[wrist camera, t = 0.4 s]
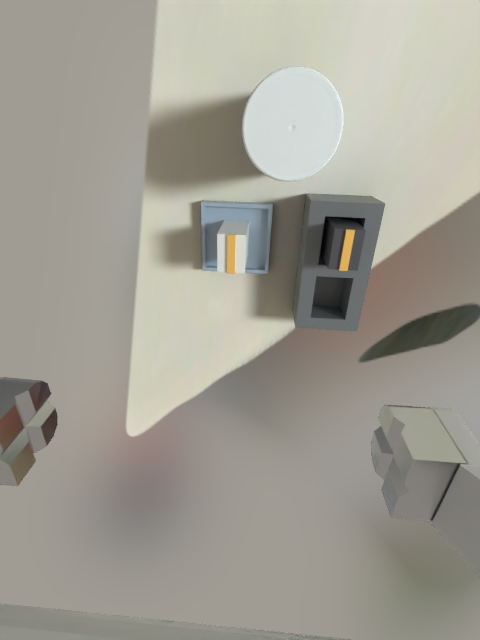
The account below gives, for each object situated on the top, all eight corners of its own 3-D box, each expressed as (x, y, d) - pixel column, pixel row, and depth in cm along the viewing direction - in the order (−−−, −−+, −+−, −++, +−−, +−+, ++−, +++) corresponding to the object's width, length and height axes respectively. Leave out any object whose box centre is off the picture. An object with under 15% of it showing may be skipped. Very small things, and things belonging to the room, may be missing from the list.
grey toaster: (306, 193, 47) (314, 206, 39) (371, 196, 47) (395, 209, 38) (292, 309, 56) (297, 341, 47) (348, 312, 55) (363, 345, 47)
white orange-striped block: (224, 220, 49) (216, 234, 42) (249, 221, 49) (246, 235, 42) (224, 253, 52) (217, 272, 44) (247, 254, 52) (244, 274, 44)
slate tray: (202, 200, 49) (200, 202, 47) (272, 203, 48) (272, 205, 47) (204, 267, 53) (202, 270, 52) (267, 270, 53) (267, 273, 52)
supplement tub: (339, 121, 43) (370, 114, 30) (291, 186, 47) (300, 205, 34) (279, 67, 41) (285, 35, 28) (233, 140, 45) (220, 141, 32)
